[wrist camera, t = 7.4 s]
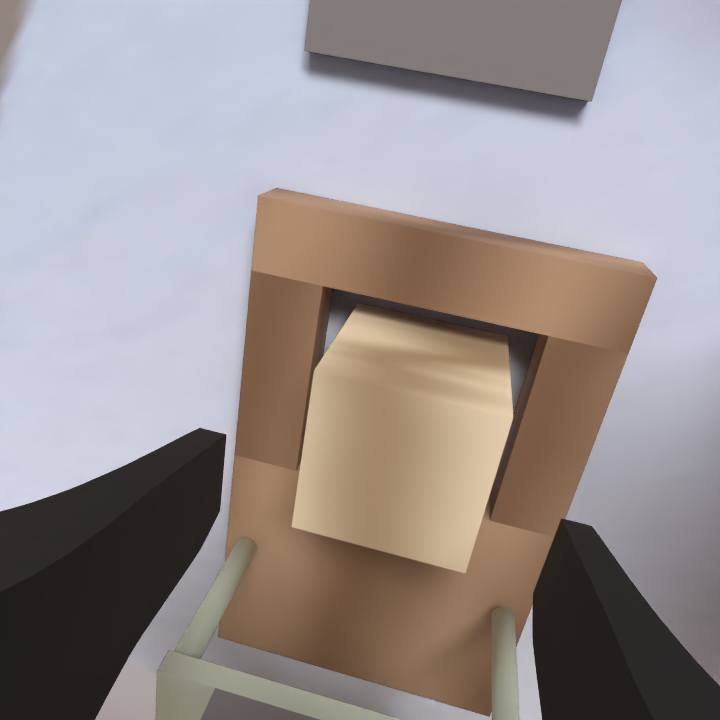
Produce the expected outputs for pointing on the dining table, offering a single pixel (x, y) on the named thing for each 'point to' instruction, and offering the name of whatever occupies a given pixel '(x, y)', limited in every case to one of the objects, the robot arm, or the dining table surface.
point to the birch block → (405, 436)
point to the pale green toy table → (275, 700)
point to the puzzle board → (517, 464)
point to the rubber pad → (473, 39)
